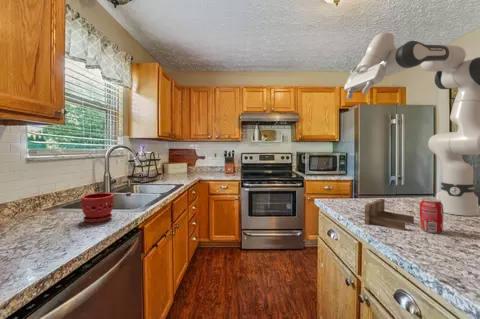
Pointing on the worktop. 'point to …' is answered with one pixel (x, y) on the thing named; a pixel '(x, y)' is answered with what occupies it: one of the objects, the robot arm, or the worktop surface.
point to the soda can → (431, 215)
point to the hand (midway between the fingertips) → (355, 95)
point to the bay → (385, 216)
